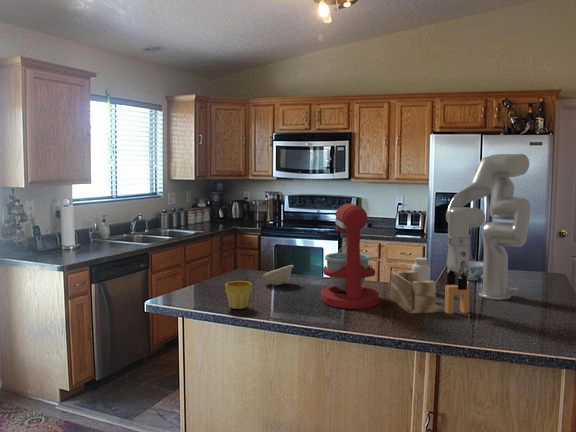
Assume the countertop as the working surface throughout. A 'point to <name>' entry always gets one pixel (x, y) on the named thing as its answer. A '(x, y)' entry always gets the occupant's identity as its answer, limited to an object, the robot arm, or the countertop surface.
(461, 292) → the upright wooden block
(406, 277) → the wooden vise
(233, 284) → the plant pot
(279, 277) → the bowl
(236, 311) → the countertop surface
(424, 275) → the pill bottle
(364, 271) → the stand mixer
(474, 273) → the chinaware
